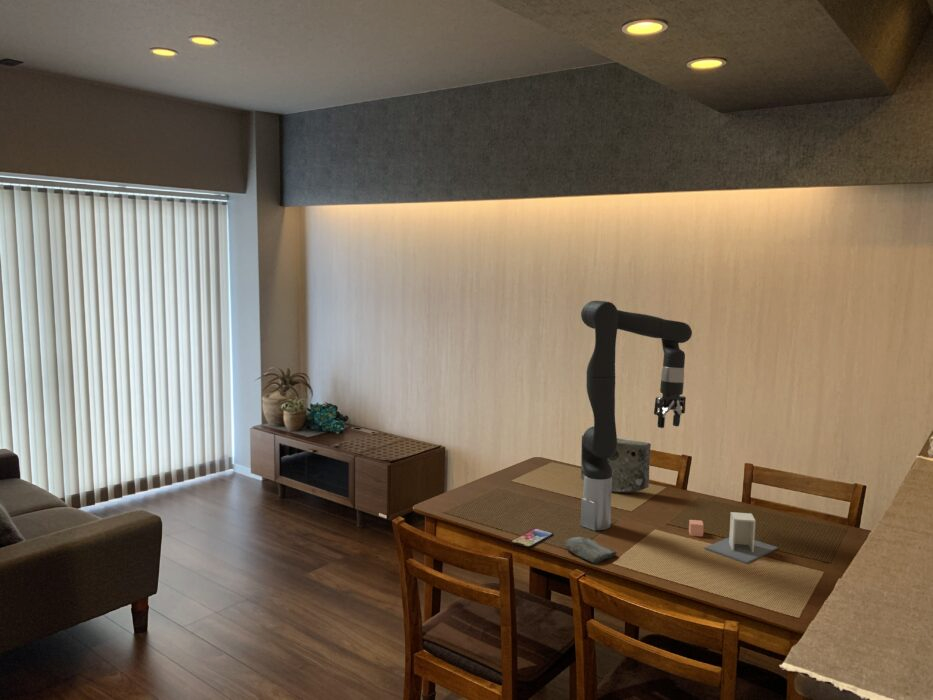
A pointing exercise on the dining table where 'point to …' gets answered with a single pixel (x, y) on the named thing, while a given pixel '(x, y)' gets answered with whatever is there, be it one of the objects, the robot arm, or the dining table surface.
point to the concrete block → (629, 466)
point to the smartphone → (531, 538)
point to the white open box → (742, 529)
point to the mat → (741, 550)
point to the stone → (589, 549)
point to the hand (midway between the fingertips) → (668, 426)
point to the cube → (696, 528)
